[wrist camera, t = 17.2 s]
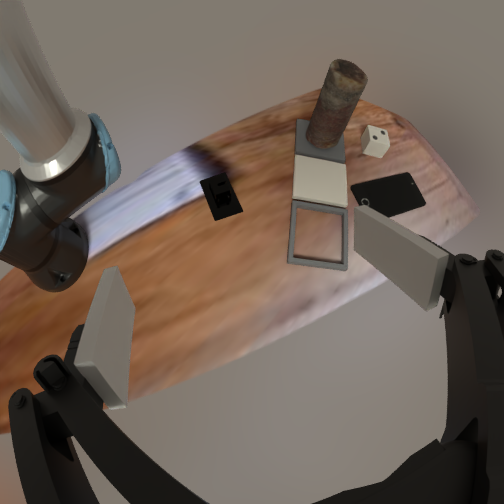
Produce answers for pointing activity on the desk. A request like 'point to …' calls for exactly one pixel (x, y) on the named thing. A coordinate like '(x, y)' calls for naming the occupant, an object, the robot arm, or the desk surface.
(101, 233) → the desk surface
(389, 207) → the cell phone
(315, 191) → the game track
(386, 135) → the die
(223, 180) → the black chunky piece
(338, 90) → the candle
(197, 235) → the desk surface
